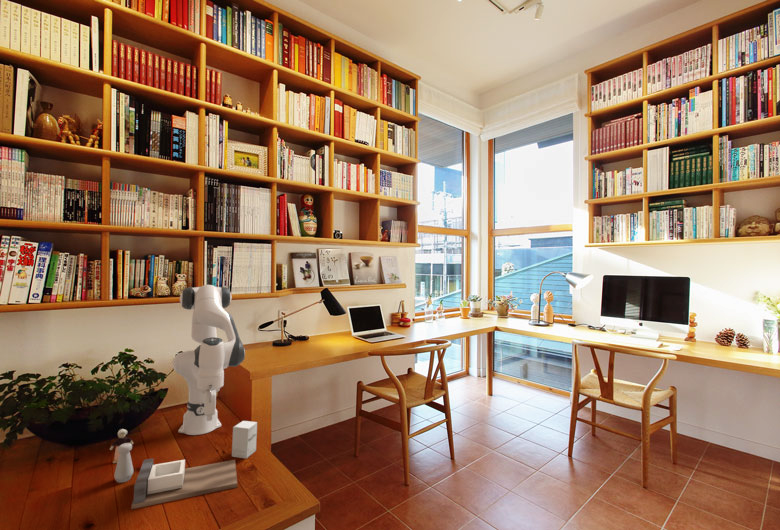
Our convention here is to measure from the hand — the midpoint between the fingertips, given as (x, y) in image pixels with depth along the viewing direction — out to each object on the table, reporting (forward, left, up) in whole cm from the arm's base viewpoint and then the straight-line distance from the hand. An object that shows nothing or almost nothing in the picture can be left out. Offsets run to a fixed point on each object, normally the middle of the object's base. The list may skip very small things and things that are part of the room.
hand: (209, 418), depth 137 cm
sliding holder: (0, -13, -21) cm, 25 cm away
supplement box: (-16, +14, -23) cm, 31 cm away
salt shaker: (-12, -28, -23) cm, 38 cm away
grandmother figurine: (-29, -32, -23) cm, 49 cm away
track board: (0, -6, -23) cm, 24 cm away
